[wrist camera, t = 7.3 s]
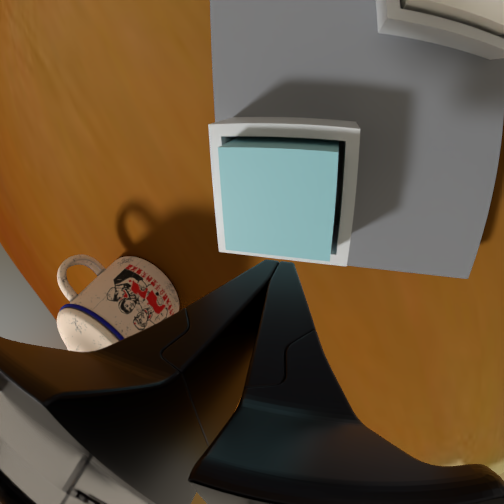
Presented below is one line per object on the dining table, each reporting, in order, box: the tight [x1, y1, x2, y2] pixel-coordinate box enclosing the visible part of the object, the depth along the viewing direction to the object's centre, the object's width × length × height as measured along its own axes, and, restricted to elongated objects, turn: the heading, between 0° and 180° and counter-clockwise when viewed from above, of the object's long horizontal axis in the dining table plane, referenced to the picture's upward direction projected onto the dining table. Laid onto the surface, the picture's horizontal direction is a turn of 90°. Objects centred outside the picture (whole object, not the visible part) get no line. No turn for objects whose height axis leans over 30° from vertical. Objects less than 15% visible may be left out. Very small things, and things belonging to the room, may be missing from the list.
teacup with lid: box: [57, 255, 179, 352], centre depth 25 cm, size 12×9×12 cm
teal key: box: [218, 137, 339, 262], centre depth 14 cm, size 5×5×3 cm
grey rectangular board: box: [208, 0, 504, 279], centre depth 13 cm, size 17×23×6 cm
